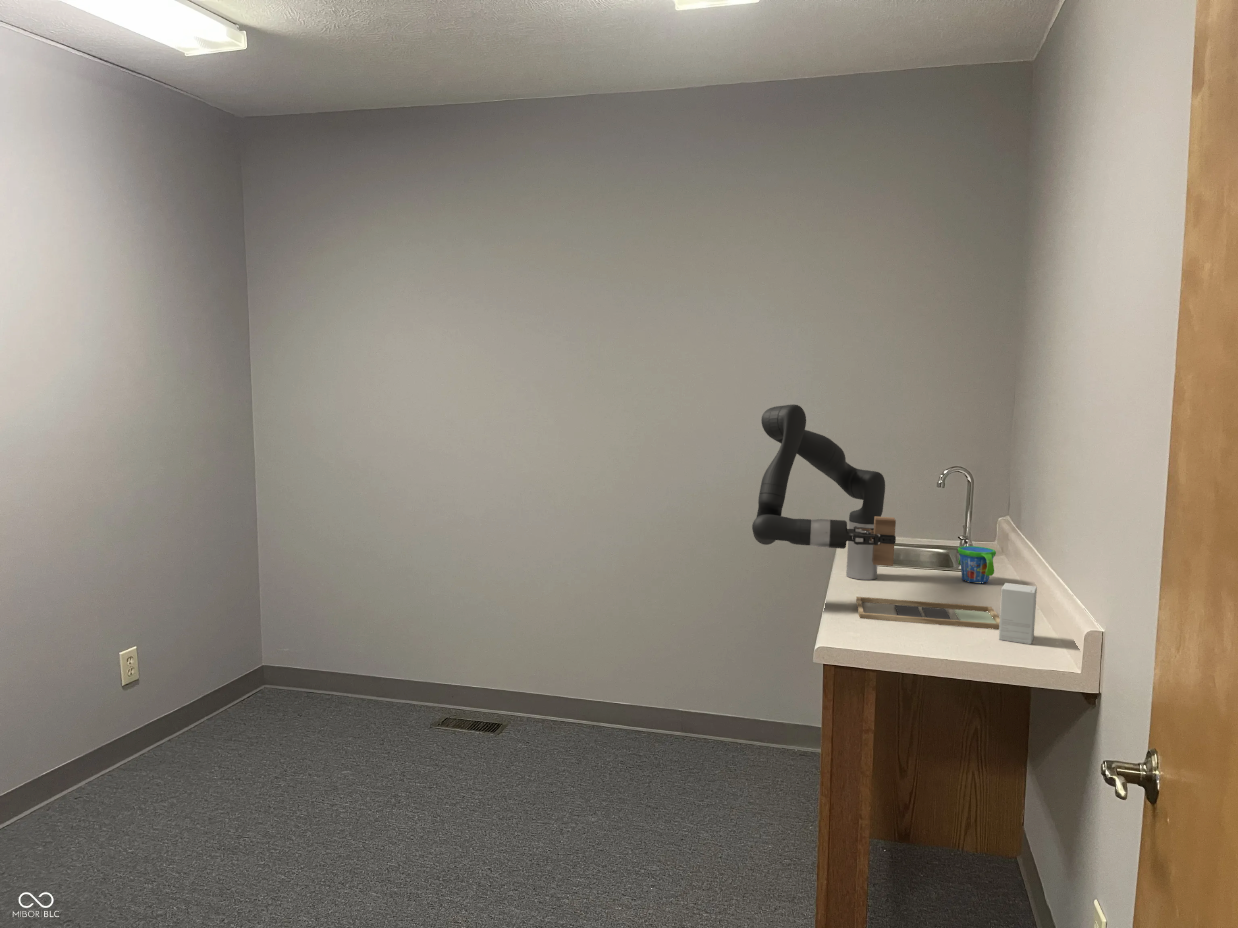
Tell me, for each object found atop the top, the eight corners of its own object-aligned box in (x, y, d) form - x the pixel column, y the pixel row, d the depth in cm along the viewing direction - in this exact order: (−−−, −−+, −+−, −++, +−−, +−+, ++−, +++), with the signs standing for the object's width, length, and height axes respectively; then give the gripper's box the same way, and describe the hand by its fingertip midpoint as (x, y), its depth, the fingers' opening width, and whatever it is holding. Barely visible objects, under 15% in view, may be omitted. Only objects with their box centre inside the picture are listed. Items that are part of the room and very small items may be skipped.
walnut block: (872, 560, 233) (874, 516, 231) (891, 562, 232) (894, 517, 230) (873, 564, 228) (875, 519, 226) (893, 565, 227) (895, 520, 225)
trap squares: (894, 606, 236) (894, 604, 236) (945, 610, 233) (945, 608, 233) (899, 618, 224) (899, 616, 224) (952, 622, 221) (952, 620, 221)
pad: (954, 610, 233) (954, 609, 233) (988, 613, 231) (988, 612, 231) (961, 623, 221) (961, 621, 221) (997, 625, 219) (997, 624, 219)
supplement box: (1034, 637, 210) (1038, 586, 209) (1031, 645, 204) (1035, 592, 203) (1001, 632, 214) (1005, 581, 213) (997, 639, 208) (1001, 587, 206)
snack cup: (947, 575, 275) (949, 543, 274) (979, 575, 276) (981, 544, 275) (969, 587, 260) (971, 553, 259) (1003, 587, 260) (1006, 554, 259)
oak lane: (856, 600, 241) (856, 596, 241) (991, 610, 233) (991, 606, 233) (859, 617, 223) (859, 613, 223) (1005, 629, 216) (1005, 625, 216)
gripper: (829, 524, 225) (898, 528, 221) (828, 515, 239) (893, 519, 235) (827, 552, 225) (896, 557, 222) (827, 542, 239) (891, 546, 236)
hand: (894, 537), depth 228 cm, fingers closed on walnut block, 5 cm apart
